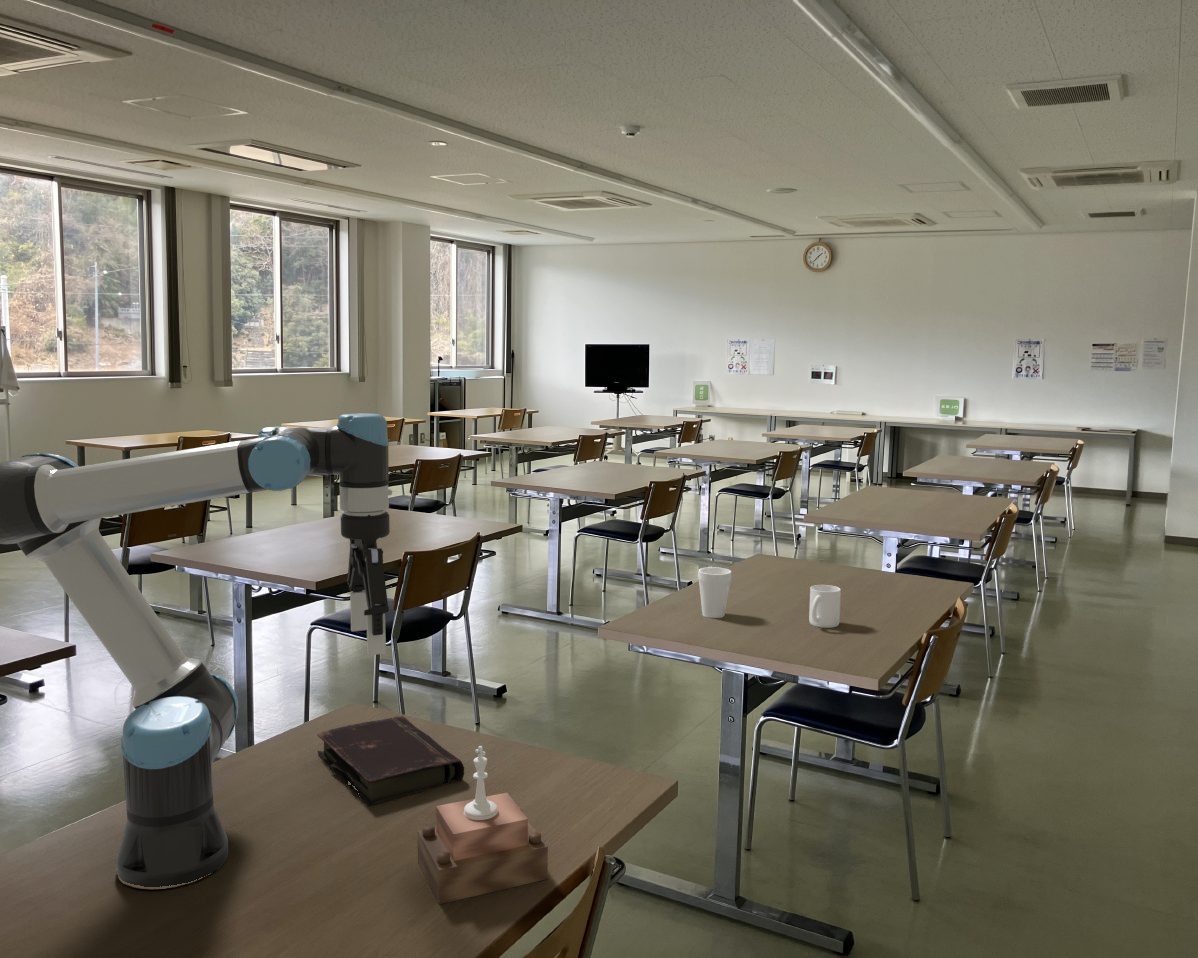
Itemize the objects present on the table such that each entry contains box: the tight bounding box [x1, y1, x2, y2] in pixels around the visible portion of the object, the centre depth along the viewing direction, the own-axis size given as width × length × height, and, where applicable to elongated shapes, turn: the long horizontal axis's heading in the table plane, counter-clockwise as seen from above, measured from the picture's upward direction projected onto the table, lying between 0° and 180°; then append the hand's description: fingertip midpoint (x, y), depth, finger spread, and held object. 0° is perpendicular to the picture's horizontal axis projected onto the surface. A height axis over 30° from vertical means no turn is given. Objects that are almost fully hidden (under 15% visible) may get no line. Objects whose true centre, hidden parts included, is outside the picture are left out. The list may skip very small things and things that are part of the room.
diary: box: [316, 715, 465, 808], centre depth 175 cm, size 19×25×5 cm
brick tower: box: [416, 792, 549, 905], centre depth 141 cm, size 16×12×9 cm
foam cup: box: [697, 566, 732, 619], centre depth 277 cm, size 10×9×13 cm
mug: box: [808, 584, 842, 629], centre depth 268 cm, size 12×8×10 cm
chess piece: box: [464, 745, 498, 820], centre depth 139 cm, size 5×5×10 cm
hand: (367, 641), depth 155 cm, fingers open, 13 cm apart
